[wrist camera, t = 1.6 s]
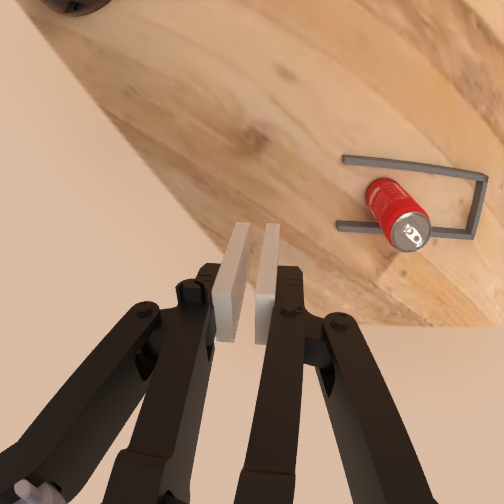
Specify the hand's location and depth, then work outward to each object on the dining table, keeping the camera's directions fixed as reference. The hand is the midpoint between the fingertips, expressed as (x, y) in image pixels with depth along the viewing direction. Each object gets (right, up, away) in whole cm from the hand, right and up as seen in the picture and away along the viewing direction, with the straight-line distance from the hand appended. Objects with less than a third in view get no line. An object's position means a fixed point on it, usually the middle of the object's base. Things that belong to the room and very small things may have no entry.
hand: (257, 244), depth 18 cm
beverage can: (+17, +7, +22) cm, 29 cm away
